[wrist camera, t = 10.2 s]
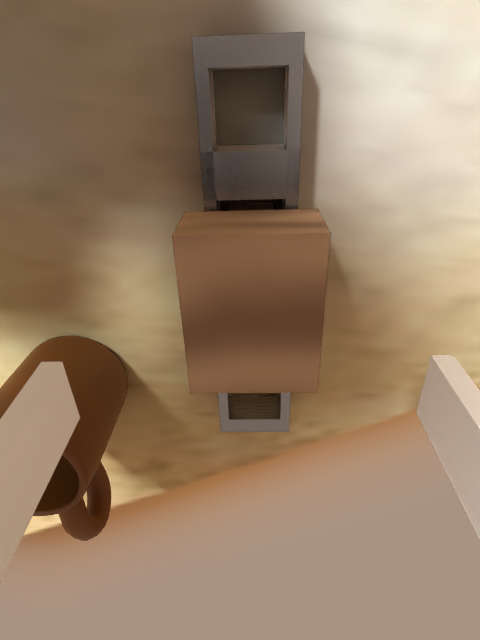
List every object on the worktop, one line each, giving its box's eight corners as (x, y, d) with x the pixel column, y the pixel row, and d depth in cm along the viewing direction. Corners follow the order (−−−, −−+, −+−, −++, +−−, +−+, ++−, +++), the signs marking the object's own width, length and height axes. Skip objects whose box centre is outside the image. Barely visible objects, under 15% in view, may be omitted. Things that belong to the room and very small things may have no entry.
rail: (198, 42, 20) (191, 36, 18) (299, 37, 20) (304, 32, 18) (223, 407, 32) (220, 431, 30) (286, 407, 32) (288, 431, 30)
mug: (168, 438, 34) (142, 548, 26) (88, 456, 35) (39, 566, 27) (102, 319, 29) (42, 413, 20) (9, 346, 30) (-82, 443, 22)
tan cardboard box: (192, 198, 24) (172, 235, 18) (310, 195, 24) (330, 232, 18) (203, 328, 29) (190, 393, 23) (303, 327, 28) (317, 392, 22)
